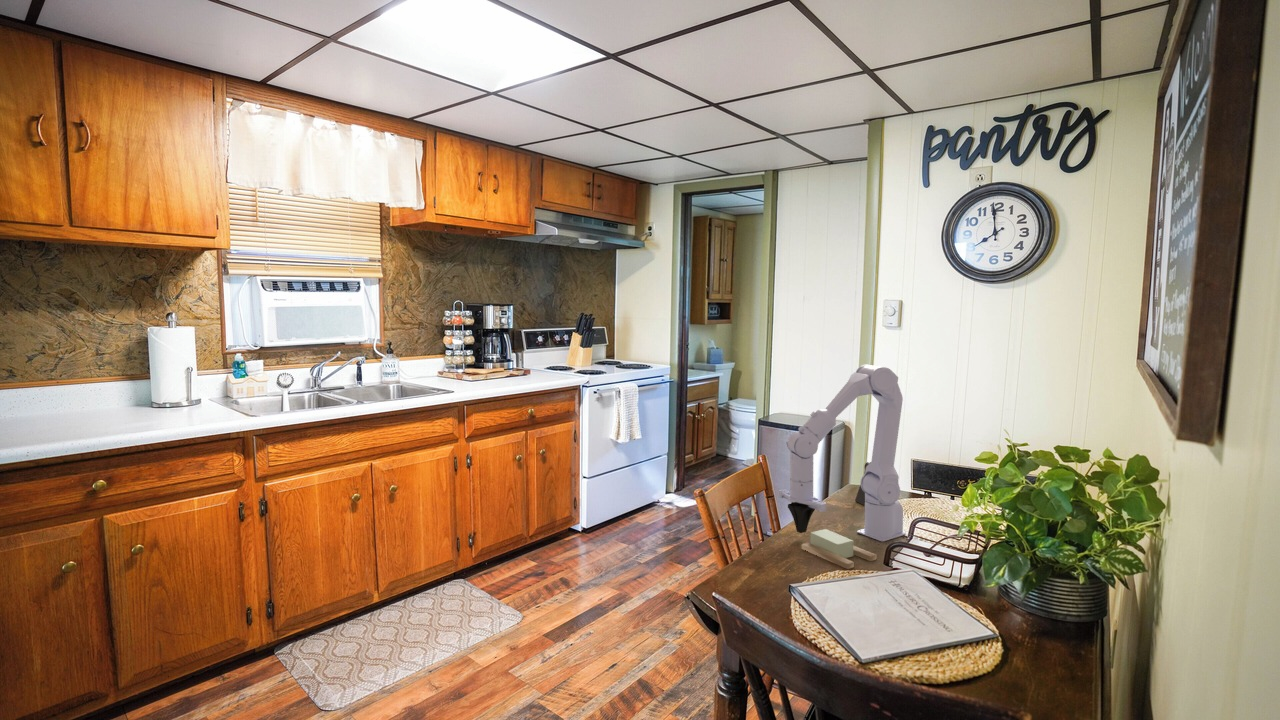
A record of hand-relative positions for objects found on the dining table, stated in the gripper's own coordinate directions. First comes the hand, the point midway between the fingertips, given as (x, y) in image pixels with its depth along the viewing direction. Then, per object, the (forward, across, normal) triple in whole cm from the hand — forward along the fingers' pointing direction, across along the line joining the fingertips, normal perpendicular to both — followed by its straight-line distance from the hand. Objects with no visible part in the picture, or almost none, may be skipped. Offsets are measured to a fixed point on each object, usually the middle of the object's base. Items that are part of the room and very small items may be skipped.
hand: (801, 531), depth 153 cm
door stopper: (+2, -9, +40) cm, 41 cm away
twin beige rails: (+2, +12, 0) cm, 12 cm away
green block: (+2, +10, 0) cm, 10 cm away
